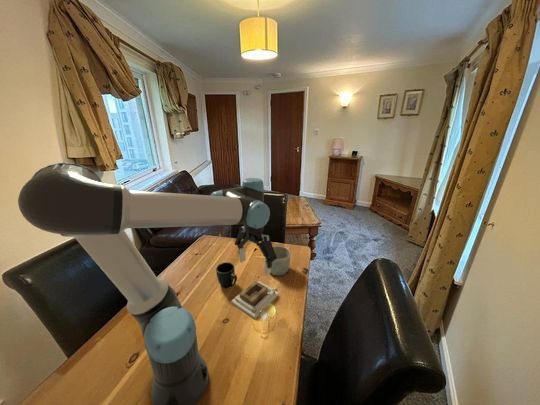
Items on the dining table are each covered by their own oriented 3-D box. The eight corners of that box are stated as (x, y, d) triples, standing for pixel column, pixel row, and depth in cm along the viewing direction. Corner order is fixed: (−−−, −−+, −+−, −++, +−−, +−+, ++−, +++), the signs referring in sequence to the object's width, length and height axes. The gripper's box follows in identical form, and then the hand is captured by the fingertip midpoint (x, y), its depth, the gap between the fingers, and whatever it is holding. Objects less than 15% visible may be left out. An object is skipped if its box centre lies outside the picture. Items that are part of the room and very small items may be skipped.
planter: (290, 264, 117) (291, 247, 113) (288, 279, 105) (289, 260, 102) (268, 262, 119) (268, 244, 115) (263, 276, 107) (263, 257, 104)
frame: (252, 308, 87) (252, 301, 86) (240, 300, 91) (239, 293, 90) (267, 294, 94) (267, 287, 93) (255, 287, 98) (255, 281, 97)
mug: (228, 297, 94) (227, 280, 91) (214, 284, 102) (212, 267, 99) (243, 288, 99) (242, 271, 96) (229, 276, 107) (227, 260, 104)
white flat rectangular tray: (254, 318, 84) (254, 313, 83) (231, 302, 91) (231, 297, 90) (278, 294, 96) (278, 290, 95) (256, 282, 103) (256, 278, 102)
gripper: (286, 225, 77) (285, 274, 84) (237, 209, 91) (239, 252, 98) (274, 232, 71) (273, 285, 78) (224, 214, 85) (227, 260, 92)
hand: (254, 267), depth 88 cm, fingers open, 13 cm apart
